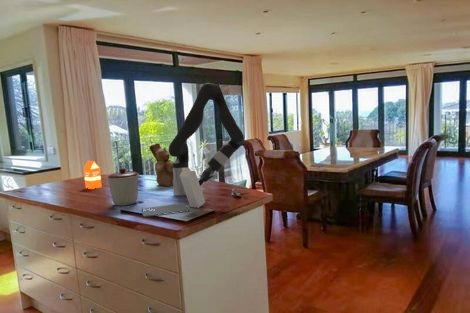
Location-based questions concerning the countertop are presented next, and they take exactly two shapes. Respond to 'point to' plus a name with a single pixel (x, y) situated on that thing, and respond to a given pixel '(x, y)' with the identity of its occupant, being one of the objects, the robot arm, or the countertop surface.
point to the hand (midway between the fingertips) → (197, 186)
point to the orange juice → (92, 175)
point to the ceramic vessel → (162, 165)
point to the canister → (123, 187)
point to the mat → (165, 209)
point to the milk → (192, 187)
